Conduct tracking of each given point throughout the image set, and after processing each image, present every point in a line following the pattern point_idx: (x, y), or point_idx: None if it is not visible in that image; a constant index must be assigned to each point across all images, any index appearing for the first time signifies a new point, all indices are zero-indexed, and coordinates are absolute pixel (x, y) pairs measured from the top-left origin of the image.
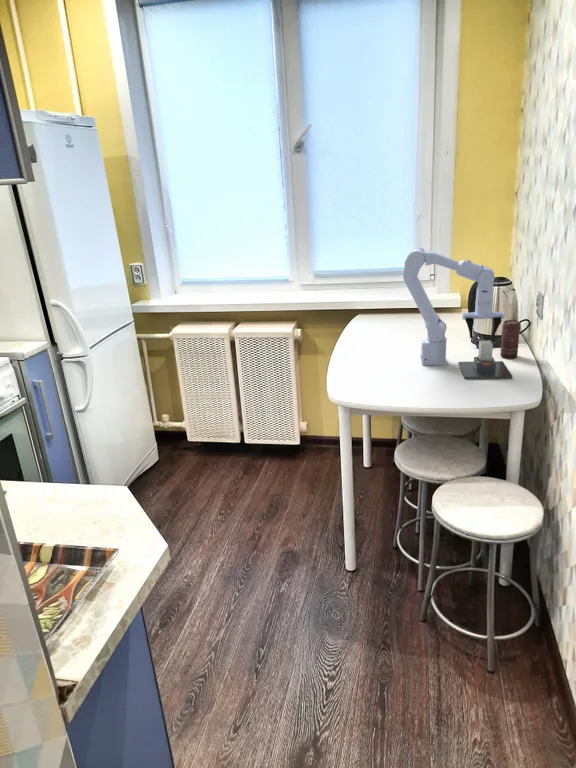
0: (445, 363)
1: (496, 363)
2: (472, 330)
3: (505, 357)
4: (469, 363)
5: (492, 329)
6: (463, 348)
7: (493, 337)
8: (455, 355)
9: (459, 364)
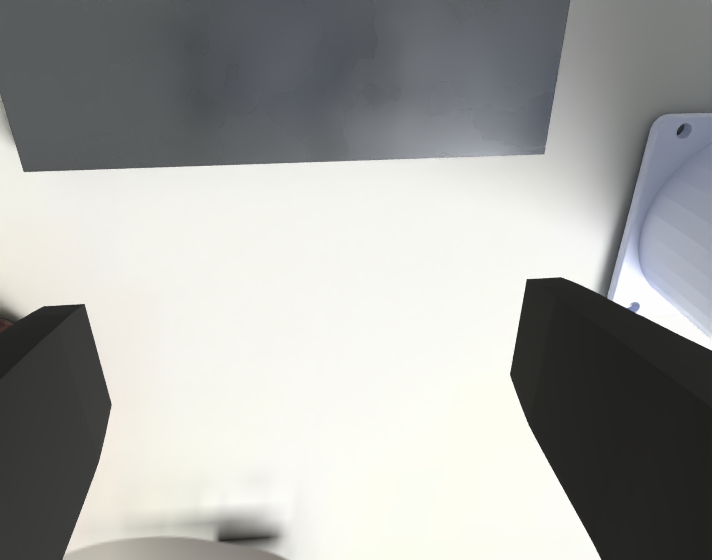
0: (675, 136)
1: (101, 84)
2: (668, 371)
3: (9, 324)
4: (437, 89)
5: (26, 530)
6: (384, 530)
7: (47, 308)
8: (488, 386)
9: (556, 65)
